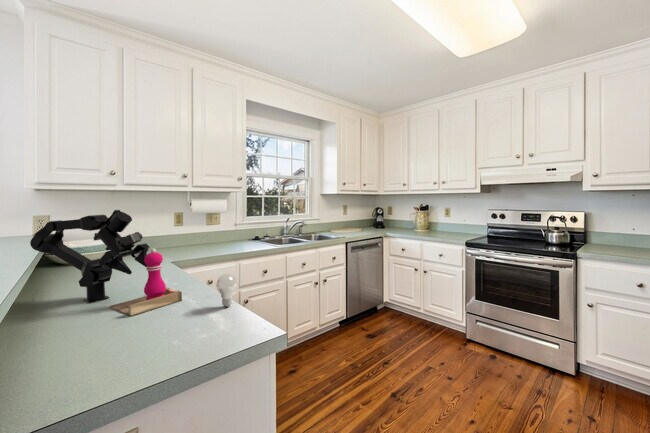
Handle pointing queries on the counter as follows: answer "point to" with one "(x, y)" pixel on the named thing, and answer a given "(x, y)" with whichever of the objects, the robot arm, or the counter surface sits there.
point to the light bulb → (226, 288)
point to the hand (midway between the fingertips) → (140, 270)
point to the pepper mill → (154, 275)
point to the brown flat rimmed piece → (148, 303)
